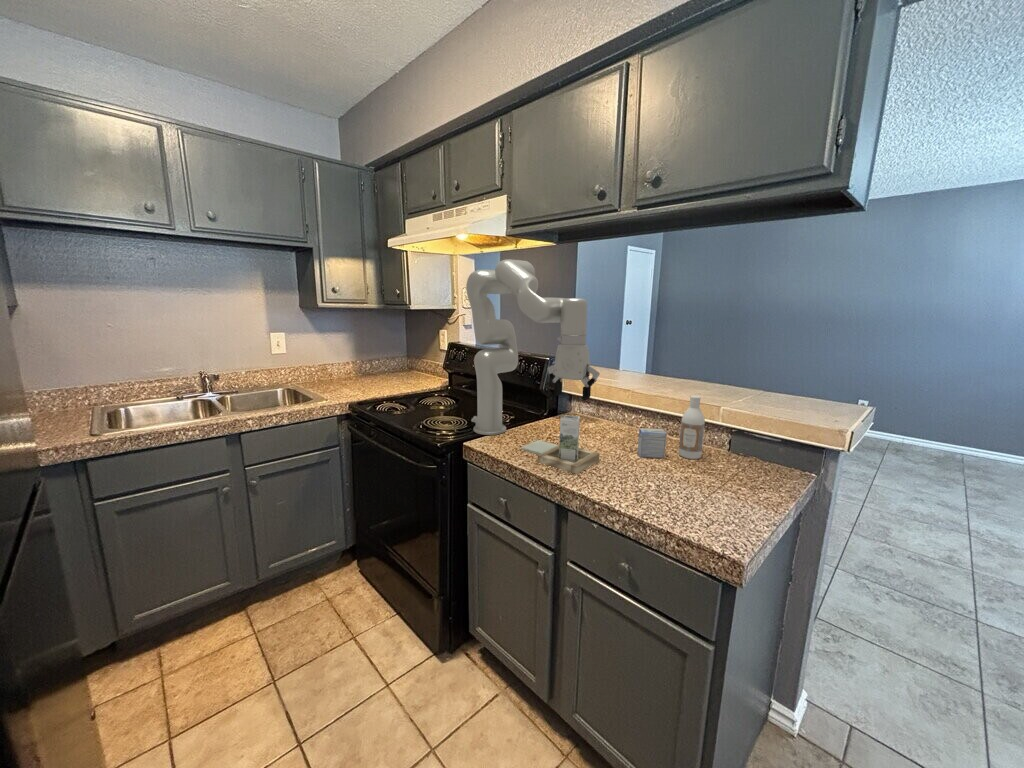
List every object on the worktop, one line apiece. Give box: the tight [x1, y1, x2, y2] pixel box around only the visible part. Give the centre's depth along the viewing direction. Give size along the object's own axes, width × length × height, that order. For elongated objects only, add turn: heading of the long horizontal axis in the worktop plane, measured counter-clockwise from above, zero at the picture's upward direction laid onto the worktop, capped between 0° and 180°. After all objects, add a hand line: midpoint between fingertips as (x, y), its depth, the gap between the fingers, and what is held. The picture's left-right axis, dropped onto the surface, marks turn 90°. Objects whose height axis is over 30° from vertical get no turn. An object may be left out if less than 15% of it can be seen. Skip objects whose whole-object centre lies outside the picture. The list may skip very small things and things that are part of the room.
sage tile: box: [520, 439, 559, 455], centre depth 142 cm, size 10×10×1 cm
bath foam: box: [678, 395, 706, 460], centre depth 136 cm, size 7×7×20 cm
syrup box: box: [558, 414, 581, 463], centre depth 130 cm, size 6×6×14 cm
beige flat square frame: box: [537, 444, 600, 475], centre depth 131 cm, size 14×14×2 cm
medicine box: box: [637, 427, 668, 459], centre depth 137 cm, size 8×4×9 cm, turn 84°
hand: (571, 397), depth 127 cm, fingers open, 9 cm apart
